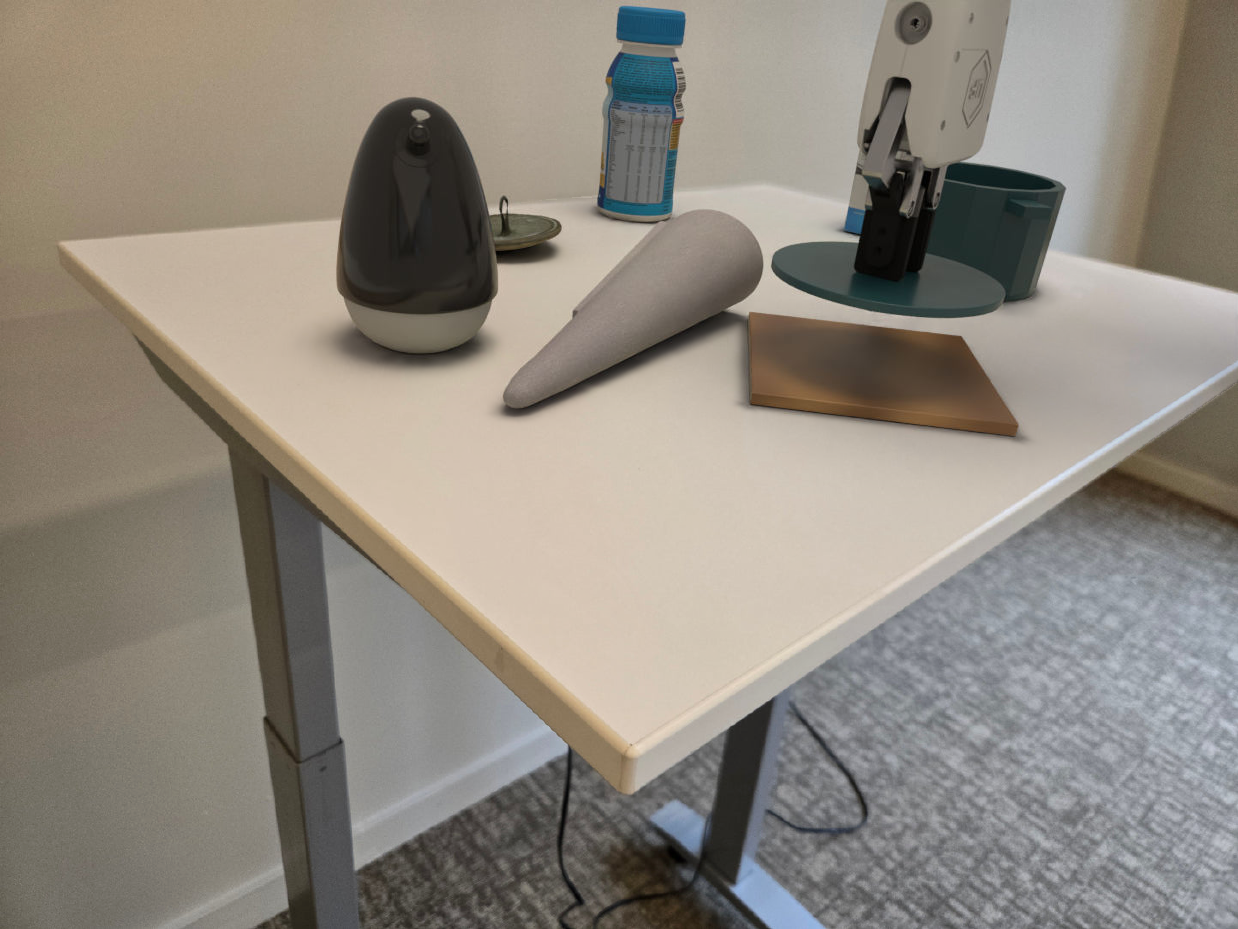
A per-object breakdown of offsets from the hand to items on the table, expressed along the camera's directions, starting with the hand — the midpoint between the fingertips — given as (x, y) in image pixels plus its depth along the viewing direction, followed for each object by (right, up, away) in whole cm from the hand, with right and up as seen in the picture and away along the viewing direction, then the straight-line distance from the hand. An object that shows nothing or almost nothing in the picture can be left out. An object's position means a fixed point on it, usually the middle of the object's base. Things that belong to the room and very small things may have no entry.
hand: (887, 269), depth 60 cm
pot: (+15, +5, +27) cm, 31 cm away
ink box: (+11, +13, +43) cm, 46 cm away
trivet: (-1, -6, +3) cm, 7 cm away
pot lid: (0, -1, 0) cm, 1 cm away
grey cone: (-16, -6, +3) cm, 17 cm away
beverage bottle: (-16, +14, +40) cm, 45 cm away
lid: (-28, +7, +24) cm, 37 cm away
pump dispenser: (-31, -5, +2) cm, 31 cm away
